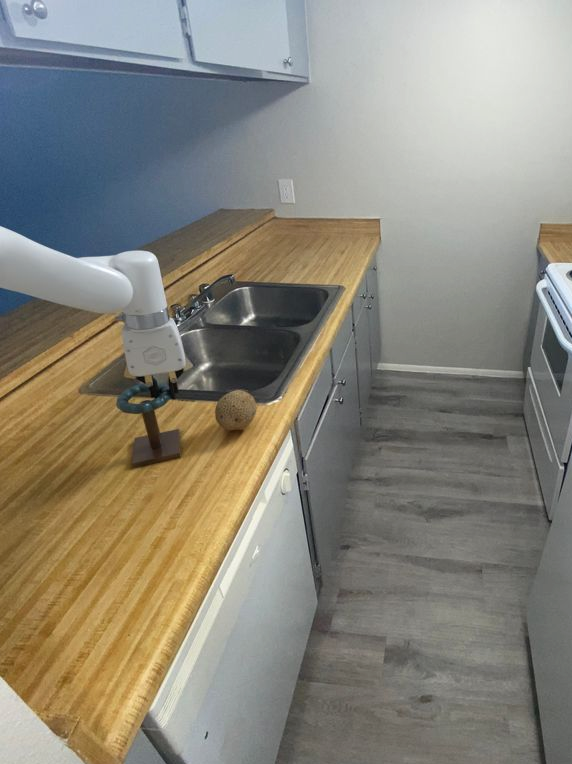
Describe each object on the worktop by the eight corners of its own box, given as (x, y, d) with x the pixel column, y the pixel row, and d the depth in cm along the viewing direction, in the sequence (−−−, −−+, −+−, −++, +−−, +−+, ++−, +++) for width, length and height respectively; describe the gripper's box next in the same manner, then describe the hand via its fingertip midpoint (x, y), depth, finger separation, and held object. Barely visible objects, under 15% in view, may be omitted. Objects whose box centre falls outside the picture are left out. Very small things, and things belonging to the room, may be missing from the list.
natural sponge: (242, 445, 105) (236, 409, 100) (209, 436, 107) (202, 399, 103) (266, 423, 112) (262, 387, 108) (235, 414, 115) (229, 379, 110)
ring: (115, 420, 91) (113, 412, 90) (119, 394, 99) (117, 386, 98) (172, 409, 95) (170, 400, 94) (172, 384, 103) (170, 377, 102)
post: (133, 467, 97) (119, 419, 92) (135, 441, 105) (122, 396, 99) (180, 457, 101) (169, 410, 95) (179, 432, 108) (169, 387, 102)
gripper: (96, 330, 84) (120, 415, 92) (193, 319, 90) (208, 399, 98) (101, 314, 90) (123, 395, 98) (192, 304, 96) (206, 382, 104)
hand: (165, 397), depth 98 cm, fingers closed on ring, 2 cm apart
